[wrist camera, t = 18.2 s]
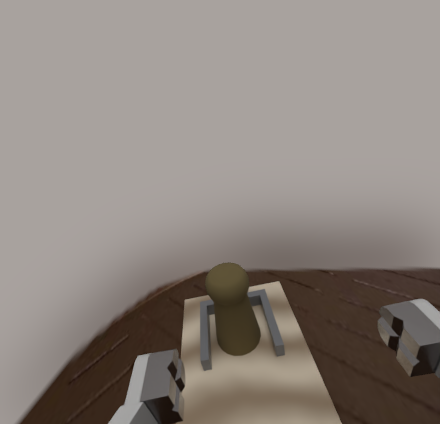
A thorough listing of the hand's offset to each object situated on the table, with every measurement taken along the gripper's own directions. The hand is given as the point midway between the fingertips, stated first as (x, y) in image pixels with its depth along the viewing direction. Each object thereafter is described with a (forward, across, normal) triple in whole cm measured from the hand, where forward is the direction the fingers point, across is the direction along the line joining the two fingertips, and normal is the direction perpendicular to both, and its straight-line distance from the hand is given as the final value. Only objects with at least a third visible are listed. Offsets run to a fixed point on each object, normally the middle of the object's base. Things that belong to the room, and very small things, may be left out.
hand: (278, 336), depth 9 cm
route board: (+13, +3, +22) cm, 25 cm away
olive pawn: (+15, +3, +21) cm, 26 cm away
